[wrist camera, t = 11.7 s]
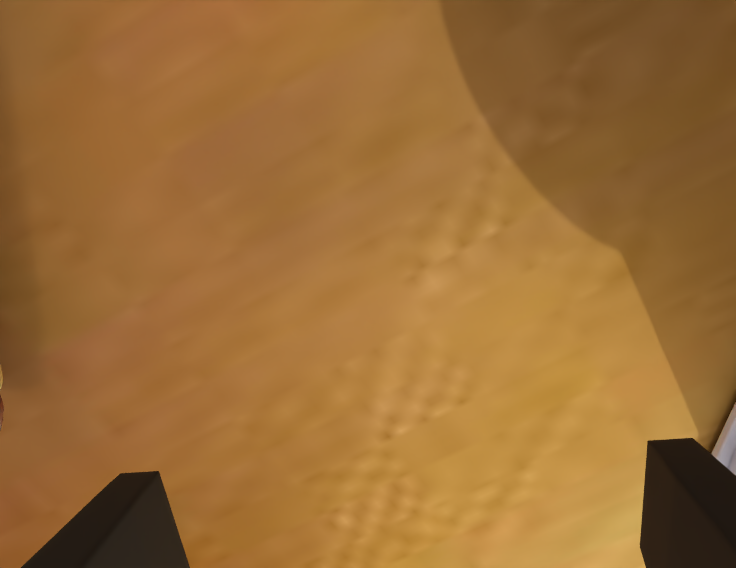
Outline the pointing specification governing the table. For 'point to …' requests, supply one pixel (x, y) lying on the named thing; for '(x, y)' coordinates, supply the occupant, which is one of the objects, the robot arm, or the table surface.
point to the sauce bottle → (0, 404)
